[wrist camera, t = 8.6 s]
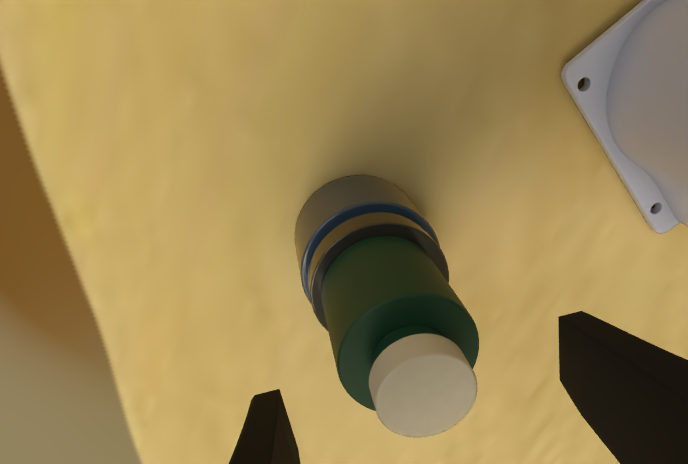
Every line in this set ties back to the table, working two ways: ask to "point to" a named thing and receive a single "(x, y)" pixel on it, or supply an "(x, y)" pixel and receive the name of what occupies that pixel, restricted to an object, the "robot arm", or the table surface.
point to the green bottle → (400, 336)
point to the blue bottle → (355, 227)
